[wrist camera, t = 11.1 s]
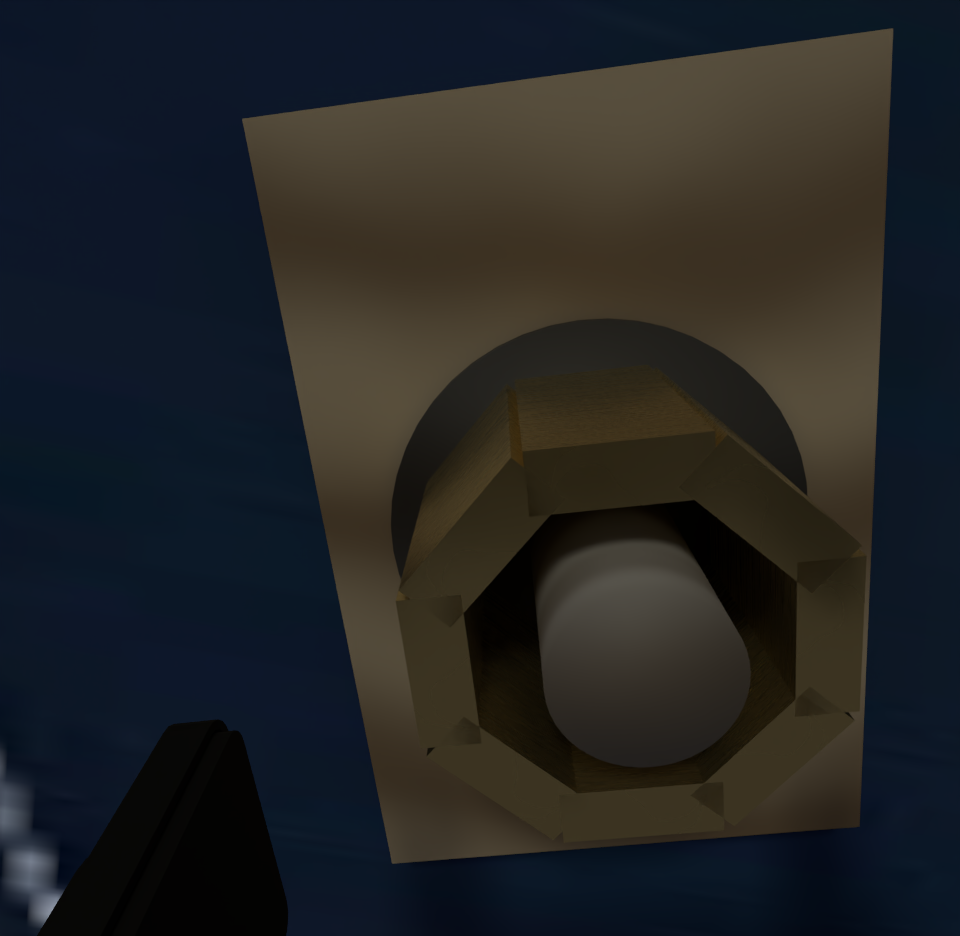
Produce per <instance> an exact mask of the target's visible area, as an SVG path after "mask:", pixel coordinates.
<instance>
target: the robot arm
mask: <svg viewBox="0 0 960 936" xmlns="http://www.w3.org/2000/svg"><path fill="white" fill-rule="evenodd" d="M287 925H288V907H287V901H286V896H285V893H284V889H283V885H282V882H281V878H280V874H279V870H278V867H277V863H276V859H275V856H274V852H273V848H272V844H271V841H270V837H269V833H268V829H267V826H266V822H265V818H264V815H263V811H262V807H261V803H260V800H259V796H258V792H257V789H256V785H255V781H254V777H253V774H252V770H251V766H250V763H249V759H248V755H247V751H246V748H245V744H244V740H243V738H242V735H241V734H240V733H239V731H228V729H227V726H226V725H225V724H224V722H223V721H221V720H209V721H199V722H189V723H180V724H173V725H171V726H169V727H168V728H167V729H166V730H165V732H164V733H163V735H162V736H161V738H160V740H159V741H158V743H157V745H156V746H155V748H154V750H153V751H152V753H151V755H150V756H149V758H148V760H147V761H146V763H145V765H144V766H143V768H142V769H141V771H140V773H139V774H138V776H137V778H136V779H135V781H134V783H133V784H132V786H131V788H130V789H129V791H128V793H127V794H126V796H125V798H124V799H123V801H122V803H121V804H120V806H119V808H118V809H117V811H116V813H115V814H114V816H113V817H112V819H111V821H110V822H109V824H108V826H107V827H106V829H105V831H104V832H103V834H102V836H101V837H100V839H99V841H98V842H97V844H96V846H95V847H94V849H93V851H92V852H91V854H90V856H89V857H88V858H87V859H86V860H85V861H84V862H83V864H82V865H81V866H80V867H79V869H78V870H77V871H76V873H75V874H74V876H73V878H72V879H71V881H70V882H69V884H68V886H67V887H66V889H65V891H64V892H63V894H62V896H61V897H60V899H59V901H58V902H57V904H56V905H55V907H54V909H53V910H52V912H51V914H50V915H49V917H48V919H47V920H46V922H45V923H44V925H43V927H42V928H41V930H40V932H39V933H38V935H37V936H286V933H287Z"/></svg>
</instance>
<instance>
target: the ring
mask: <svg viewBox="0 0 960 936" xmlns="http://www.w3.org/2000/svg"><path fill="white" fill-rule="evenodd" d="M515 388H516V391H515V390H514V389H513V388H511V387H510V386H509V385H508V384H506V385H505V387H504V388H503V389H502V390H501V391H500V393H499V394H498V395H497V396H496V398H495V399H494V400H493V401H492V403H491V404H490V405H489V406H488V407H487V409H486V410H485V411H484V412H483V414H482V415H481V416H480V417H479V418H478V420H477V421H476V422H475V423H474V425H473V426H472V427H471V428H470V430H469V431H468V432H467V433H466V434H465V436H464V437H463V438H462V439H461V441H460V442H459V443H458V444H457V445H456V447H455V448H454V449H453V450H452V452H451V453H450V454H449V455H448V456H447V458H446V459H445V460H444V461H443V463H442V464H441V465H440V466H439V468H438V469H437V470H436V471H435V472H434V474H433V475H432V476H431V477H430V479H429V480H428V481H427V484H426V488H425V492H424V495H423V499H422V503H421V507H420V511H419V514H418V518H417V522H416V526H415V529H414V533H413V537H412V541H411V545H410V548H409V552H408V556H407V560H406V563H405V567H404V571H403V575H402V579H401V582H400V586H399V590H398V594H397V597H396V607H397V613H398V618H399V624H400V630H401V636H402V642H403V648H404V653H405V659H406V665H407V671H408V677H409V683H410V689H411V694H412V700H413V706H414V712H415V718H416V724H417V729H418V735H419V741H420V747H421V748H428V749H427V757H428V758H429V759H431V760H432V761H434V762H435V763H437V764H438V765H440V766H441V767H443V768H444V769H446V770H447V771H449V772H450V773H452V774H454V775H455V776H457V777H458V778H460V779H461V780H463V781H464V782H466V783H467V784H469V785H470V786H472V787H473V788H475V789H476V790H478V791H479V792H481V793H482V794H484V795H485V796H487V797H488V798H490V799H492V800H493V801H495V802H496V803H498V804H499V805H501V806H502V807H504V808H505V809H507V810H508V811H510V812H511V813H513V814H514V815H516V816H517V817H519V818H520V819H522V820H523V821H525V822H526V823H528V824H530V825H531V826H533V827H534V828H536V829H537V830H539V831H540V832H542V833H543V834H545V835H546V836H548V837H549V838H551V839H552V840H554V839H555V838H556V837H557V836H558V835H559V834H560V833H561V832H563V841H564V843H566V842H579V841H592V840H605V839H618V838H631V837H644V836H657V835H670V834H683V833H696V832H709V831H722V830H724V819H725V820H726V821H728V822H729V823H731V824H732V825H733V826H735V825H736V824H737V823H739V822H740V821H741V820H742V819H743V818H744V817H745V816H747V815H748V814H749V813H750V812H751V811H752V810H753V809H755V808H756V807H757V806H758V805H759V804H760V803H761V802H763V801H764V800H765V799H766V798H767V797H768V796H769V795H771V794H772V793H773V792H774V791H775V790H776V789H777V788H779V787H780V786H781V785H782V784H783V783H784V782H785V781H787V780H788V779H789V778H790V777H791V776H792V775H793V774H795V773H796V772H797V771H798V770H799V769H800V768H801V767H803V766H804V765H805V764H806V763H807V762H808V761H809V760H811V759H812V758H813V757H814V756H815V755H816V754H817V753H819V752H820V751H821V750H822V749H823V748H824V747H825V746H827V745H828V744H829V743H830V742H831V741H832V740H833V739H834V738H836V737H837V736H838V735H839V734H840V733H841V732H842V731H844V730H845V729H846V728H847V727H848V726H849V725H850V724H852V723H853V722H854V721H855V720H854V719H853V717H852V716H851V715H850V713H849V712H857V711H860V695H861V673H862V650H863V628H864V606H865V583H866V561H867V556H866V555H865V554H864V553H863V552H862V551H861V550H860V549H859V548H860V547H861V546H862V545H861V544H860V543H859V542H858V541H856V540H855V539H854V538H853V537H852V536H851V535H850V534H849V533H848V532H846V531H845V530H844V529H843V528H842V527H841V526H840V525H839V524H838V523H836V522H835V521H834V520H833V519H832V518H831V517H830V516H829V515H828V514H826V513H825V512H824V511H823V510H822V509H821V508H820V507H819V506H818V505H816V504H815V503H814V502H813V501H812V500H811V499H810V498H809V497H808V496H806V495H805V494H804V493H803V492H802V491H801V490H800V489H799V488H798V487H796V486H795V485H794V484H793V483H792V482H791V481H790V480H789V479H788V478H786V477H785V476H784V475H783V474H782V473H781V472H780V471H779V470H778V469H776V468H775V467H774V466H773V465H772V464H771V463H770V462H769V461H768V460H766V459H765V458H764V457H763V456H762V455H761V454H760V453H759V452H758V451H756V450H755V449H754V448H753V447H752V446H751V445H750V444H748V443H747V442H746V441H745V440H744V439H742V438H741V437H740V436H739V435H738V434H736V433H735V432H734V431H733V430H731V429H730V428H729V427H728V426H727V425H725V424H724V423H723V422H722V421H721V420H719V419H718V418H717V417H716V416H715V415H713V414H712V413H711V412H710V411H709V410H707V409H706V408H705V407H704V406H703V405H701V404H700V403H699V402H698V401H697V400H695V399H694V398H693V397H692V396H690V395H689V394H688V393H687V392H686V391H684V390H683V389H682V388H681V387H680V386H678V385H677V384H676V383H675V382H674V381H672V380H671V379H670V378H669V377H668V376H666V375H665V374H664V373H663V372H662V371H660V370H659V369H658V368H657V367H656V368H655V369H654V370H653V369H652V368H651V367H650V366H649V365H640V366H631V367H622V368H613V369H604V370H595V371H586V372H577V373H569V374H560V375H551V376H542V377H533V378H524V379H515ZM690 500H695V501H697V502H698V503H699V504H700V505H702V506H703V507H704V508H705V509H707V510H708V511H709V527H710V563H709V564H708V565H707V566H706V567H705V568H704V569H703V570H702V571H703V573H704V574H705V576H706V578H707V579H708V581H709V583H710V585H711V586H712V588H713V590H714V591H715V593H716V595H717V597H718V598H719V600H720V602H721V604H722V605H723V607H724V609H725V610H726V612H727V614H728V616H729V617H730V619H731V621H732V622H733V624H734V626H735V628H736V629H737V631H738V633H739V635H740V636H741V638H742V640H743V642H744V645H745V647H746V649H747V653H748V657H749V661H750V670H751V677H750V687H749V692H748V696H747V699H746V702H745V704H744V707H743V709H742V711H741V713H740V714H739V716H738V718H737V719H736V721H735V722H734V723H733V725H732V726H731V728H730V729H729V730H728V731H727V732H726V733H725V734H724V735H723V736H722V737H721V738H720V739H719V740H717V741H716V742H715V743H714V744H712V745H711V746H710V747H708V748H706V749H705V750H703V751H702V752H700V753H698V754H696V755H694V756H692V757H690V758H687V759H685V760H682V761H679V762H676V763H672V764H668V765H663V766H656V767H626V766H621V765H615V764H611V763H608V762H605V761H602V760H599V759H597V758H595V757H593V756H590V755H589V754H587V753H585V752H584V751H582V750H580V749H579V748H578V747H576V746H575V745H574V744H572V743H571V742H570V741H569V740H568V739H567V738H566V737H565V736H564V735H563V734H562V733H561V731H560V730H559V728H558V727H557V726H556V724H555V723H554V721H553V719H552V717H551V715H550V713H549V710H548V707H547V704H546V700H545V695H544V687H543V677H542V667H541V657H540V647H539V636H538V626H537V622H536V621H535V620H533V619H532V618H531V617H529V616H528V615H527V614H525V613H524V612H522V611H521V610H520V609H518V608H517V607H515V606H514V605H513V604H511V603H510V602H509V601H507V600H506V599H504V598H503V597H502V596H500V595H499V594H497V593H496V592H495V591H493V590H492V589H491V588H489V587H488V585H489V584H490V583H491V582H492V580H493V579H494V578H495V577H496V576H497V575H498V574H499V573H500V571H501V570H502V569H503V568H504V567H505V566H506V565H507V564H508V562H509V561H510V560H511V559H512V558H513V557H514V556H515V555H516V553H517V552H518V551H519V550H520V549H521V548H522V547H523V546H524V544H525V543H526V542H527V541H528V540H529V539H530V538H531V537H532V535H533V534H534V533H535V532H536V531H537V530H538V529H539V527H540V526H541V525H542V524H543V523H544V522H545V521H546V520H547V518H548V517H549V516H550V515H552V514H562V513H572V512H582V511H592V510H601V509H611V508H621V507H631V506H641V505H651V504H660V503H670V502H680V501H690Z"/></svg>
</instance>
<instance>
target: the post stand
mask: <svg viewBox="0 0 960 936" xmlns="http://www.w3.org/2000/svg"><path fill="white" fill-rule="evenodd" d="M892 43H893V28H892V29H885V30H878V31H871V32H864V33H856V34H849V35H842V36H835V37H828V38H820V39H813V40H806V41H799V42H792V43H785V44H777V45H770V46H763V47H756V48H749V49H741V50H734V51H727V52H720V53H713V54H705V55H698V56H691V57H684V58H677V59H669V60H662V61H655V62H648V63H641V64H634V65H626V66H619V67H612V68H605V69H598V70H590V71H583V72H576V73H569V74H562V75H554V76H547V77H540V78H533V79H526V80H518V81H511V82H504V83H497V84H490V85H483V86H475V87H468V88H461V89H454V90H447V91H439V92H432V93H425V94H418V95H411V96H403V97H396V98H389V99H382V100H375V101H367V102H360V103H353V104H346V105H339V106H332V107H324V108H317V109H310V110H303V111H296V112H288V113H281V114H274V115H267V116H260V117H252V118H245V119H242V120H243V125H244V130H245V135H246V140H247V145H248V150H249V155H250V160H251V165H252V170H253V175H254V180H255V185H256V190H257V194H258V199H259V204H260V209H261V214H262V219H263V224H264V229H265V234H266V239H267V244H268V249H269V254H270V259H271V264H272V269H273V274H274V279H275V284H276V289H277V294H278V299H279V304H280V309H281V314H282V319H283V324H284V329H285V334H286V339H287V344H288V348H289V353H290V358H291V363H292V368H293V373H294V378H295V383H296V388H297V393H298V398H299V403H300V408H301V413H302V418H303V423H304V428H305V433H306V438H307V443H308V448H309V453H310V458H311V463H312V468H313V473H314V478H315V483H316V488H317V493H318V498H319V502H320V507H321V512H322V517H323V522H324V527H325V532H326V537H327V542H328V547H329V552H330V557H331V562H332V567H333V572H334V577H335V582H336V587H337V592H338V597H339V602H340V607H341V612H342V617H343V622H344V627H345V632H346V637H347V642H348V647H349V652H350V656H351V661H352V666H353V671H354V676H355V681H356V686H357V691H358V696H359V701H360V706H361V711H362V716H363V721H364V726H365V731H366V736H367V741H368V746H369V751H370V756H371V761H372V766H373V771H374V776H375V781H376V786H377V791H378V796H379V801H380V806H381V810H382V815H383V820H384V825H385V830H386V835H387V840H388V845H389V850H390V855H391V860H392V864H394V863H407V862H419V861H432V860H445V859H457V858H470V857H483V856H495V855H508V854H520V853H533V852H546V851H558V850H571V849H584V848H596V847H609V846H621V845H634V844H647V843H659V842H672V841H684V840H697V839H710V838H722V837H735V836H748V835H760V834H773V833H785V832H798V831H811V830H823V829H836V828H849V827H859V823H860V800H861V776H862V752H863V729H864V705H865V681H866V658H867V634H868V611H869V587H870V563H871V540H872V516H873V492H874V469H875V445H876V421H877V398H878V374H879V351H880V327H881V303H882V280H883V256H884V232H885V209H886V185H887V161H888V138H889V114H890V91H891V67H892ZM640 365H649V366H650V367H651V368H652V369H653V370H654V369H655V368H656V367H657V368H658V369H659V370H660V371H662V372H663V373H664V374H665V375H666V376H668V377H669V378H670V379H671V380H672V381H674V382H675V383H676V384H677V385H678V386H680V387H681V388H682V389H683V390H684V391H686V392H687V393H688V394H689V395H690V396H692V397H693V398H694V399H695V400H697V401H698V402H699V403H700V404H701V405H703V406H704V407H705V408H706V409H707V410H709V411H710V412H711V413H712V414H713V415H715V416H716V417H717V418H718V419H719V420H721V421H722V422H723V423H724V424H725V425H727V426H728V427H729V428H730V429H731V430H733V431H734V432H735V433H736V434H738V435H739V436H740V437H741V438H742V439H744V440H745V441H746V442H747V443H748V444H750V445H751V446H752V447H753V448H754V449H755V450H756V451H758V452H759V453H760V454H761V455H762V456H763V457H764V458H765V459H766V460H768V461H769V462H770V463H771V464H772V465H773V466H774V467H775V468H776V469H778V470H779V471H780V472H781V473H782V474H783V475H784V476H785V477H786V478H788V479H789V480H790V481H791V482H792V483H793V484H794V485H795V486H796V487H798V488H799V489H800V490H801V491H802V492H803V493H804V494H805V495H806V496H808V497H809V498H810V499H811V500H812V501H813V502H814V503H815V504H816V505H818V506H819V507H820V508H821V509H822V510H823V511H824V512H825V513H826V514H828V515H829V516H830V517H831V518H832V519H833V520H834V521H835V522H836V523H838V524H839V525H840V526H841V527H842V528H843V529H844V530H845V531H846V532H848V533H849V534H850V535H851V536H852V537H853V538H854V539H855V540H856V541H858V542H859V543H860V544H861V545H862V546H861V547H860V548H859V549H860V550H861V551H862V552H863V553H864V554H865V555H866V556H867V561H866V583H865V606H864V628H863V650H862V673H861V695H860V711H857V712H849V713H850V715H851V716H852V717H853V719H854V720H855V721H854V722H853V723H852V724H850V725H849V726H848V727H847V728H846V729H845V730H844V731H842V732H841V733H840V734H839V735H838V736H837V737H836V738H834V739H833V740H832V741H831V742H830V743H829V744H828V745H827V746H825V747H824V748H823V749H822V750H821V751H820V752H819V753H817V754H816V755H815V756H814V757H813V758H812V759H811V760H809V761H808V762H807V763H806V764H805V765H804V766H803V767H801V768H800V769H799V770H798V771H797V772H796V773H795V774H793V775H792V776H791V777H790V778H789V779H788V780H787V781H785V782H784V783H783V784H782V785H781V786H780V787H779V788H777V789H776V790H775V791H774V792H773V793H772V794H771V795H769V796H768V797H767V798H766V799H765V800H764V801H763V802H761V803H760V804H759V805H758V806H757V807H756V808H755V809H753V810H752V811H751V812H750V813H749V814H748V815H747V816H745V817H744V818H743V819H742V820H741V821H740V822H739V823H737V824H736V825H735V826H733V825H732V824H731V823H729V822H728V821H726V820H725V819H724V830H722V831H709V832H696V833H683V834H670V835H657V836H644V837H631V838H618V839H605V840H592V841H579V842H566V843H564V841H563V832H561V833H560V834H559V835H558V836H557V837H556V838H555V839H554V840H552V839H551V838H549V837H548V836H546V835H545V834H543V833H542V832H540V831H539V830H537V829H536V828H534V827H533V826H531V825H530V824H528V823H526V822H525V821H523V820H522V819H520V818H519V817H517V816H516V815H514V814H513V813H511V812H510V811H508V810H507V809H505V808H504V807H502V806H501V805H499V804H498V803H496V802H495V801H493V800H492V799H490V798H488V797H487V796H485V795H484V794H482V793H481V792H479V791H478V790H476V789H475V788H473V787H472V786H470V785H469V784H467V783H466V782H464V781H463V780H461V779H460V778H458V777H457V776H455V775H454V774H452V773H450V772H449V771H447V770H446V769H444V768H443V767H441V766H440V765H438V764H437V763H435V762H434V761H432V760H431V759H429V758H428V757H427V749H428V748H421V747H420V741H419V735H418V729H417V724H416V718H415V712H414V706H413V700H412V694H411V689H410V683H409V677H408V671H407V665H406V659H405V653H404V648H403V642H402V636H401V630H400V624H399V618H398V613H397V607H396V597H397V594H398V590H399V586H400V582H401V579H402V575H403V571H404V567H405V563H406V560H407V556H408V552H409V548H410V545H411V541H412V537H413V533H414V529H415V526H416V522H417V518H418V514H419V511H420V507H421V503H422V499H423V495H424V492H425V488H426V484H427V481H428V480H429V479H430V477H431V476H432V475H433V474H434V472H435V471H436V470H437V469H438V468H439V466H440V465H441V464H442V463H443V461H444V460H445V459H446V458H447V456H448V455H449V454H450V453H451V452H452V450H453V449H454V448H455V447H456V445H457V444H458V443H459V442H460V441H461V439H462V438H463V437H464V436H465V434H466V433H467V432H468V431H469V430H470V428H471V427H472V426H473V425H474V423H475V422H476V421H477V420H478V418H479V417H480V416H481V415H482V414H483V412H484V411H485V410H486V409H487V407H488V406H489V405H490V404H491V403H492V401H493V400H494V399H495V398H496V396H497V395H498V394H499V393H500V391H501V390H502V389H503V388H504V387H505V385H506V384H508V385H509V386H510V387H511V388H513V389H514V390H515V391H516V388H515V379H524V378H533V377H542V376H551V375H560V374H569V373H577V372H586V371H595V370H604V369H613V368H622V367H631V366H640ZM709 563H710V527H709V511H708V510H707V509H705V508H704V507H703V506H702V505H700V504H699V503H698V502H697V501H695V500H690V501H680V502H670V503H660V504H651V505H641V506H631V507H621V508H611V509H601V510H592V511H582V512H572V513H562V514H552V515H550V516H549V517H548V518H547V520H546V521H545V522H544V523H543V524H542V525H541V526H540V527H539V529H538V530H537V531H536V532H535V533H534V534H533V535H532V537H531V538H530V539H529V540H528V541H527V542H526V543H525V544H524V546H523V547H522V548H521V549H520V550H519V551H518V552H517V553H516V555H515V556H514V557H513V558H512V559H511V560H510V561H509V562H508V564H507V565H506V566H505V567H504V568H503V569H502V570H501V571H500V573H499V574H498V575H497V576H496V577H495V578H494V579H493V580H492V582H491V583H490V584H489V585H488V587H489V588H491V589H492V590H493V591H495V592H496V593H497V594H499V595H500V596H502V597H503V598H504V599H506V600H507V601H509V602H510V603H511V604H513V605H514V606H515V607H517V608H518V609H520V610H521V611H522V612H524V613H525V614H527V615H528V616H529V617H531V618H532V619H533V620H535V621H536V622H537V626H538V636H539V647H540V657H541V667H542V677H543V687H544V695H545V700H546V704H547V707H548V710H549V713H550V715H551V717H552V719H553V721H554V723H555V724H556V726H557V727H558V728H559V730H560V731H561V733H562V734H563V735H564V736H565V737H566V738H567V739H568V740H569V741H570V742H571V743H572V744H574V745H575V746H576V747H578V748H579V749H580V750H582V751H584V752H585V753H587V754H589V755H590V756H593V757H595V758H597V759H599V760H602V761H605V762H608V763H611V764H615V765H621V766H626V767H656V766H663V765H668V764H672V763H676V762H679V761H682V760H685V759H687V758H690V757H692V756H694V755H696V754H698V753H700V752H702V751H703V750H705V749H706V748H708V747H710V746H711V745H712V744H714V743H715V742H716V741H717V740H719V739H720V738H721V737H722V736H723V735H724V734H725V733H726V732H727V731H728V730H729V729H730V728H731V726H732V725H733V723H734V722H735V721H736V719H737V718H738V716H739V714H740V713H741V711H742V709H743V707H744V704H745V702H746V699H747V696H748V692H749V687H750V677H751V670H750V661H749V657H748V653H747V649H746V647H745V645H744V642H743V640H742V638H741V636H740V635H739V633H738V631H737V629H736V628H735V626H734V624H733V622H732V621H731V619H730V617H729V616H728V614H727V612H726V610H725V609H724V607H723V605H722V604H721V602H720V600H719V598H718V597H717V595H716V593H715V591H714V590H713V588H712V586H711V585H710V583H709V581H708V579H707V578H706V576H705V574H704V573H703V571H702V570H703V569H704V568H705V567H706V566H707V565H708V564H709Z"/></svg>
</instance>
